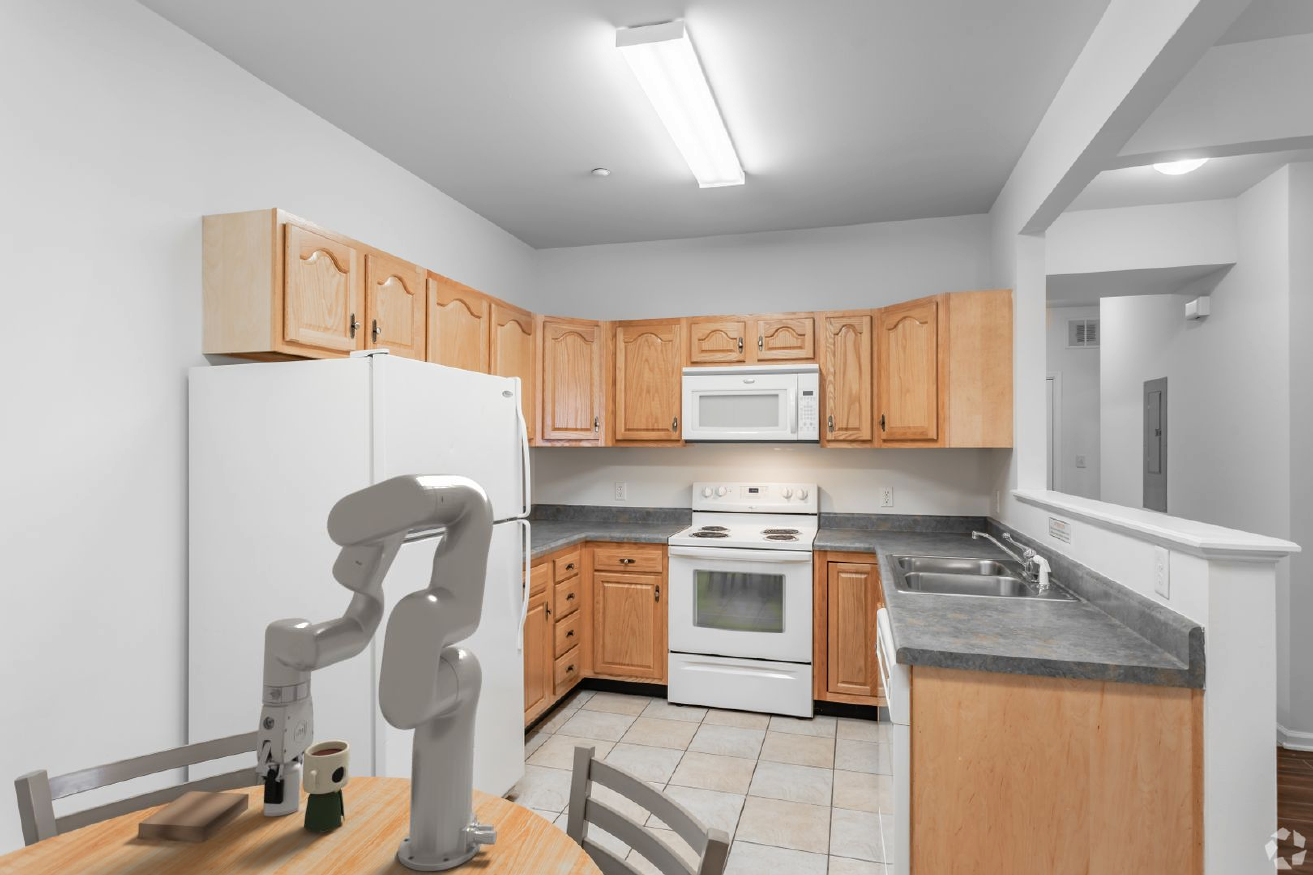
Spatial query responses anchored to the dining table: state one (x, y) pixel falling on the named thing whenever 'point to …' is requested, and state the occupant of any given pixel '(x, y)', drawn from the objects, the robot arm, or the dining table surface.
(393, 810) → the dining table surface
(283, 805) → the eye dropper bottle
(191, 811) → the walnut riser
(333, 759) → the character mug
